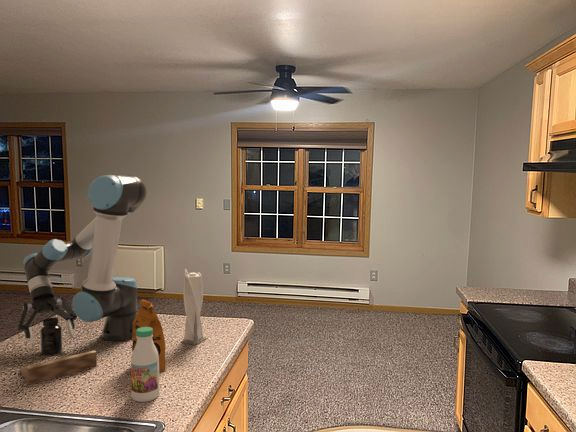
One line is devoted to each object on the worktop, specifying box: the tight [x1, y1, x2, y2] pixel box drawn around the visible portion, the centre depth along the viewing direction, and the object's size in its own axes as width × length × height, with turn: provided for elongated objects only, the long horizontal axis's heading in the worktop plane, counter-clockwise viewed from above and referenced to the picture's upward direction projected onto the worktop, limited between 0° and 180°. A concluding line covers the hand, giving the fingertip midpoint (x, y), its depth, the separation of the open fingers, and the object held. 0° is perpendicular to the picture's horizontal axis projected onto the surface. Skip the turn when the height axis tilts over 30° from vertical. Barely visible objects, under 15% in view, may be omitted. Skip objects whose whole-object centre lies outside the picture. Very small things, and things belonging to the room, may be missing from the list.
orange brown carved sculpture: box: [131, 299, 167, 373], centre depth 147 cm, size 10×12×22 cm
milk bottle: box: [130, 327, 160, 403], centre depth 127 cm, size 8×8×20 cm
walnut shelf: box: [19, 350, 98, 385], centre depth 145 cm, size 20×12×5 cm, turn 131°
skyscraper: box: [180, 268, 207, 346], centre depth 172 cm, size 8×8×28 cm
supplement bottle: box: [39, 316, 63, 356], centre depth 159 cm, size 7×7×12 cm
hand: (53, 341), depth 158 cm, fingers open, 12 cm apart
